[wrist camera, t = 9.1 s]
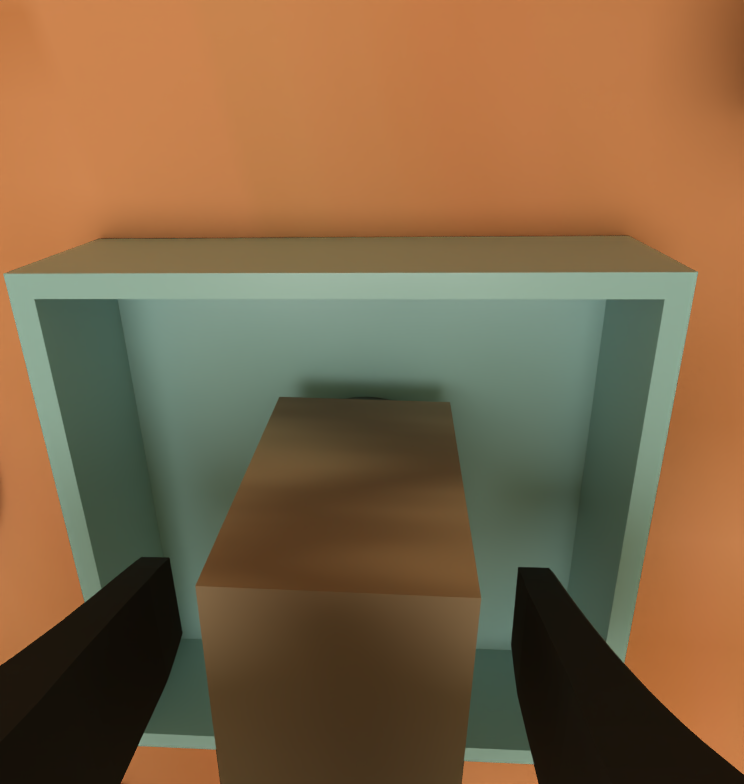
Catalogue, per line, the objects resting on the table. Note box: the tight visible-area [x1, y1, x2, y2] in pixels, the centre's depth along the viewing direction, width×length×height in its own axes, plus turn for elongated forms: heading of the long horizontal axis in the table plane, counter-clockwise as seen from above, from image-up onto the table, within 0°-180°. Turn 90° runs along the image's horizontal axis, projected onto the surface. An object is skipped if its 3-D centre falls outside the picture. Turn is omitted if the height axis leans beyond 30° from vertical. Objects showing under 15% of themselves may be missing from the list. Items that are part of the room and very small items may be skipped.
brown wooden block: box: [195, 397, 481, 784], centre depth 14 cm, size 5×6×8 cm
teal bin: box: [4, 236, 698, 764], centre depth 16 cm, size 13×13×4 cm
